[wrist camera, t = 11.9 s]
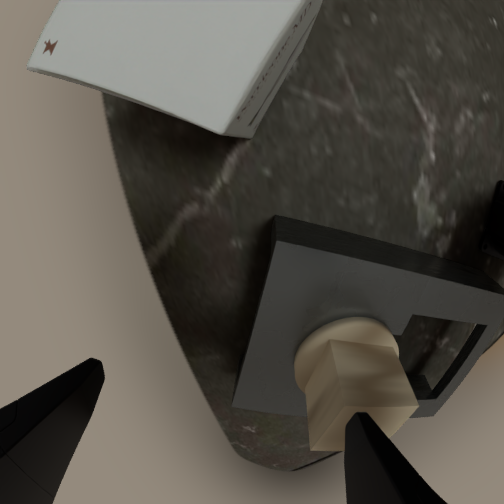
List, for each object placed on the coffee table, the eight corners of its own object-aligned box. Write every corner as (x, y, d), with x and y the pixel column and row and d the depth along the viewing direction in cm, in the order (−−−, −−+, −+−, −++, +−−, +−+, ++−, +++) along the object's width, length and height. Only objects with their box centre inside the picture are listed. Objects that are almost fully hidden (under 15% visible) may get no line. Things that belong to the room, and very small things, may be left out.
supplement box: (252, 142, 18) (218, 151, 6) (155, 97, 17) (15, 71, 5) (306, 50, 15) (357, -62, 3) (207, 9, 14) (135, -102, 2)
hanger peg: (389, 290, 20) (448, 389, 11) (356, 357, 23) (384, 457, 14) (306, 273, 20) (329, 386, 11) (280, 346, 23) (282, 457, 13)
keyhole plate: (483, 270, 20) (513, 297, 15) (418, 382, 25) (433, 416, 21) (275, 214, 19) (276, 240, 15) (237, 364, 25) (231, 406, 20)
